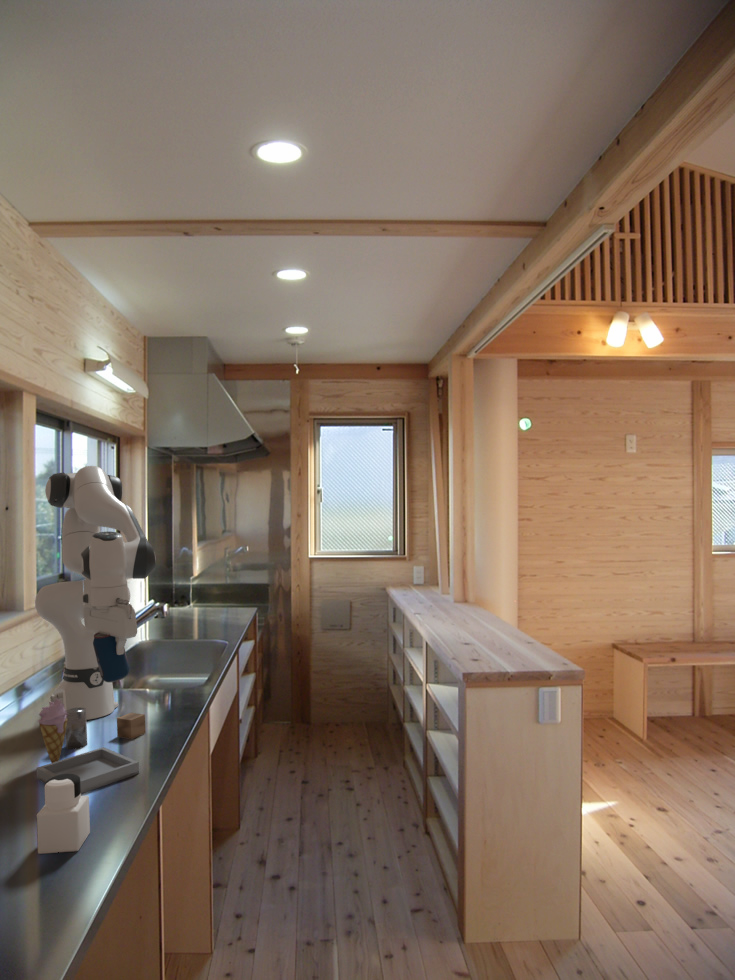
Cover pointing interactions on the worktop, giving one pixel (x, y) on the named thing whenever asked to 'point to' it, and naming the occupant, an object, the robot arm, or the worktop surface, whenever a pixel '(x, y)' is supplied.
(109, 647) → the soda can
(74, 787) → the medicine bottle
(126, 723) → the walnut block
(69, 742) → the dark metal canister
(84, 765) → the slate tray
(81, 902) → the worktop surface
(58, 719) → the ice cream cone
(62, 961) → the worktop surface
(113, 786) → the worktop surface
